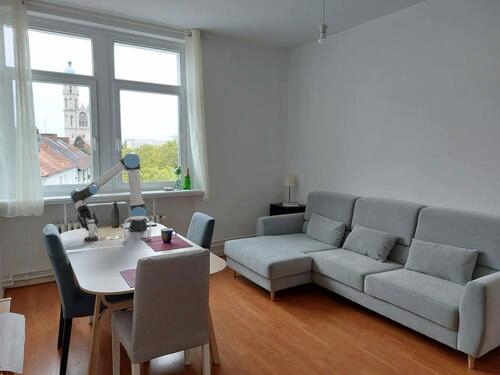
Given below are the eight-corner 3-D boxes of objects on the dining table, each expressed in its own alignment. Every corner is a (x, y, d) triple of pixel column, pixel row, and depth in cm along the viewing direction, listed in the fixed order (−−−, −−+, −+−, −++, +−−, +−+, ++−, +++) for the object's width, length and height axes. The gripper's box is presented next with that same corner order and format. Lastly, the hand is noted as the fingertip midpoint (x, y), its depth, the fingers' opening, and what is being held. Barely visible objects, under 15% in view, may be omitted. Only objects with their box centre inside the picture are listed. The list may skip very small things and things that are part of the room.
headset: (151, 237, 269) (151, 214, 267) (151, 239, 262) (151, 216, 261) (124, 239, 264) (123, 216, 262) (123, 242, 257) (122, 218, 255)
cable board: (120, 237, 270) (120, 232, 270) (122, 240, 261) (121, 235, 261) (83, 241, 259) (83, 236, 259) (83, 244, 250) (83, 239, 250)
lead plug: (95, 236, 260) (94, 219, 259) (95, 238, 256) (94, 220, 254) (88, 237, 258) (87, 219, 257) (88, 238, 254) (87, 221, 252)
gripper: (92, 209, 271) (104, 233, 263) (68, 212, 258) (80, 238, 249) (94, 203, 267) (107, 227, 259) (71, 206, 254) (83, 232, 245)
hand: (94, 232), depth 254 cm, fingers closed on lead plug, 4 cm apart
